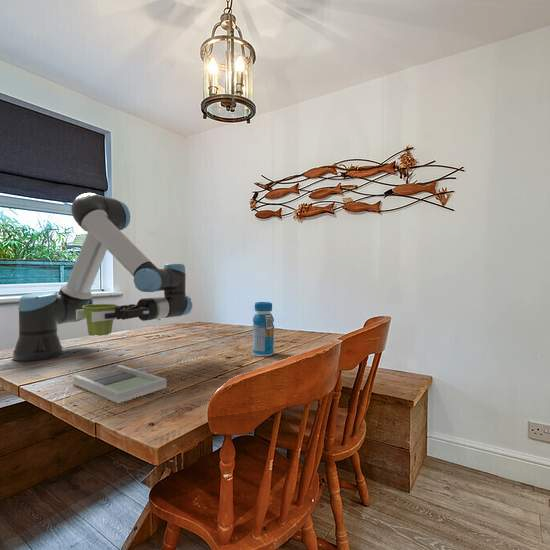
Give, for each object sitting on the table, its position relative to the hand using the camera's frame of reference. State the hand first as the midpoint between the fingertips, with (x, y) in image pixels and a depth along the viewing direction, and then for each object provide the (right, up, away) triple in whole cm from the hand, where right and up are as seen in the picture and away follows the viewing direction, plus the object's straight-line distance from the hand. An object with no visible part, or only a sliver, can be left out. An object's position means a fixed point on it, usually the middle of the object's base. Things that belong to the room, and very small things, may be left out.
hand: (84, 315), depth 99 cm
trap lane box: (+12, -19, -4) cm, 23 cm away
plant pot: (+3, -6, +4) cm, 8 cm away
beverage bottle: (+51, -19, +33) cm, 64 cm away
